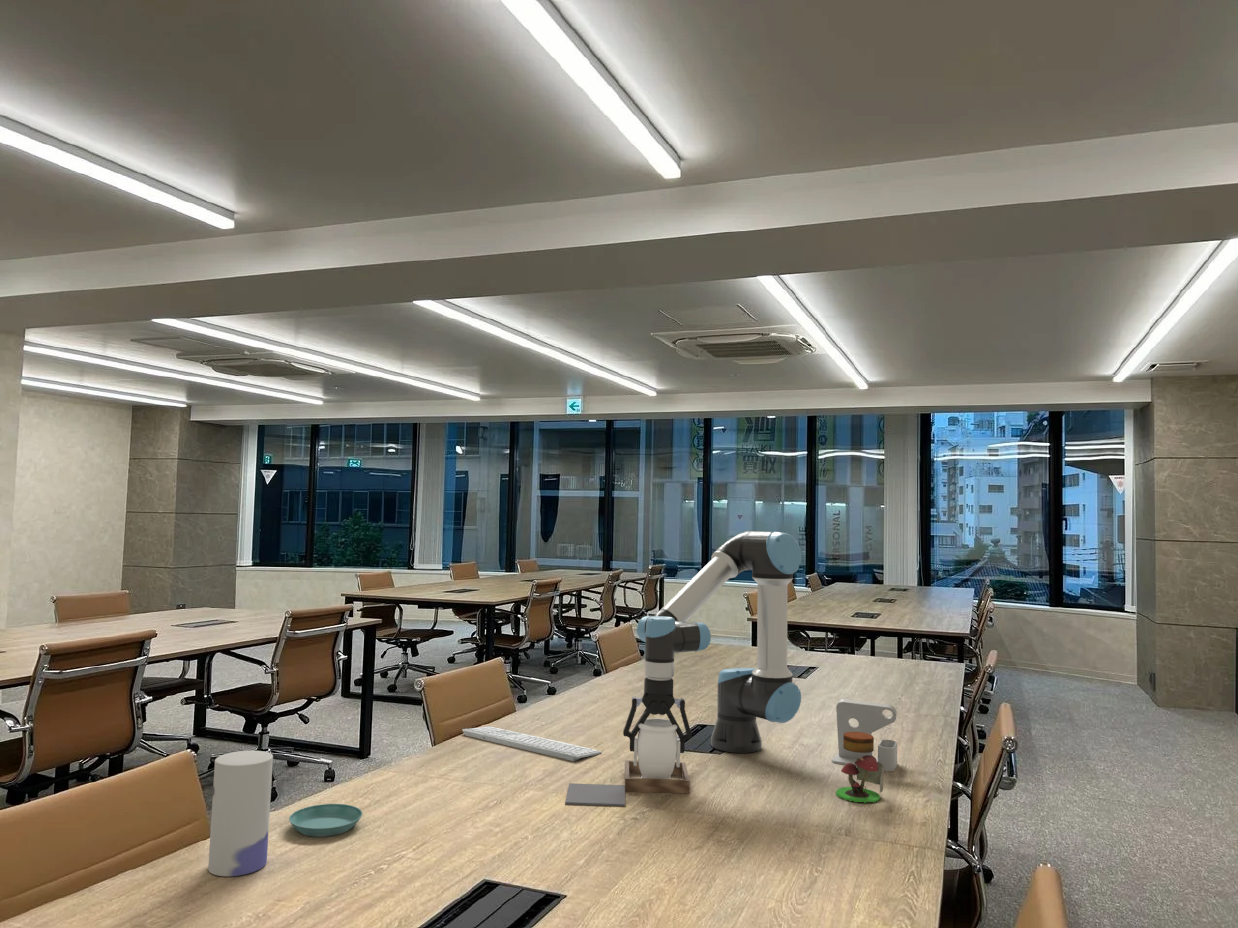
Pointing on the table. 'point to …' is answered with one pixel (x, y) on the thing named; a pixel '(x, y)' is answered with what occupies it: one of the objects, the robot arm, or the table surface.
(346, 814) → the saucer
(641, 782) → the holder frame
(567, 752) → the keyboard
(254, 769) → the container
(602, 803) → the felt pad
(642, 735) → the jar
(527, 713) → the table surface
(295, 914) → the table surface
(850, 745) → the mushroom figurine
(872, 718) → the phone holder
